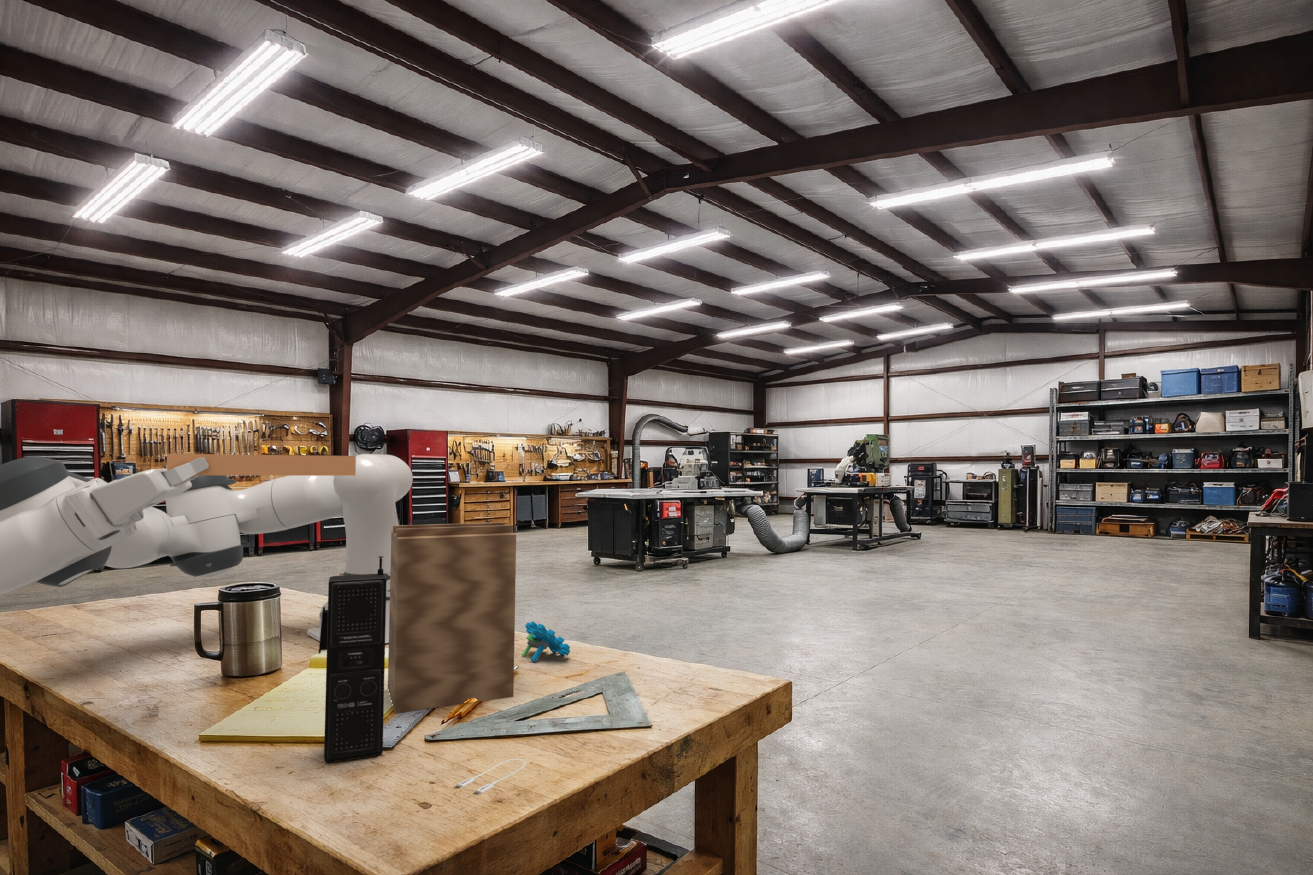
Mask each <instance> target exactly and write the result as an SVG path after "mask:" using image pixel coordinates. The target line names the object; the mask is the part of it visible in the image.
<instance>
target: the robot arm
mask: <svg viewBox="0 0 1313 875" xmlns="http://www.w3.org/2000/svg"><path fill="white" fill-rule="evenodd" d="M355 456H356V473H355V476H299V475H284V476H282V477H281V476H280V477H278V478H274V479H270V480H267V481H265V482H261V483H259V484H255V485H253V486H251V487H247V488H243V489H233V487H232V488H231V487H230V486H231V485H234V484H236V483H237V480H236V479H234V478H232V479H230V478H229V476H228V475H196V474H198V473H200V472H202V471H204V470H206V469H208V468H209V467H210V465H209V463H208V462H207V460H206V459H205V458H202V457H201V458H198V459H196V460H194V461H191V462H189V463H186V464H183V465H181V466H178V467H175V468H173V469H170V470H167V467H166V468H151V469H147V470H143V471H139V472H136V473H133V474H130V475H128V476H125V477H122V478H118V479H114V480H112V481H110V482H107V481H105V480H104V479H102V478H99V477H95V478H93V479H91V478H88V477H86V476H82V475H80V474H77V473H74V472H72V471H68V470H67V468H66V466H65V464H64V463H63V462H62V461H58V460H56V459H54V458H48V457H45V456H44V457H43V456H38V455H37V456H35V455H33V456H25V457H21V458H17V459H14V460H10V461H7V462H5V463H2V464H0V596H1V595H4V594H6V593H9V592H13V591H15V590H17V589H20V588H22V587H25V586H28V585H29V584H32V583H34V582H36V584H40V585H44V586H48V587H49V586H50V587H55V588H63V587H65V586H67V585H69V584H71V583H72V582H74V581H75V580H78V579H79V578H81V577H82V576H84V575H86V574H88V573H91V572H93V571H95V570H97V569H101V568H104V567H105V566H106V567H109V568H113V569H128V568H129V569H130V568H135V567H139V566H143V565H147V564H150V563H152V562H153V561H156V560H159V559H160V558H164V557H167V556H168V557H170V559H171V560H172V561H173V562H172V563H169V566H170V567H171V568H172V567H177V568H178V569H179V570H180V572H182V573H183V574H186V575H188V576H191V577H194V578H196V577H199V578H213V577H219V576H222V575H224V574H226V573H228V572H230V571H231V570H233V569H234V568H235V567H237V566H239V565H240V564H241V562H242V561H243V560H244V559H243V556H244V546H243V544H241V534H244V535H259V534H261V535H262V534H269V533H276V532H282V531H287V530H289V529H290V530H291V529H294V528H298V527H302V526H306V525H311V524H314V523H317V522H322V521H326V520H330V519H334V518H338V517H341V516H343V523H344V528H345V537H346V539H345V541H346V542H345V554H346V555H345V571H344V572H343V573H339V574H338V576H343V575H362V574H378V569H379V559H380V558H379V556H384V557H383V558H382V569H383V574H385V575H386V580H387V583H386V626H385V644H389V612H390V570H391V531H393V526H395V525H400V524H399V518H398V513H397V507H396V502H398V501H400V500H401V499H403V497H404V496H406V495H407V493H408V492H409V491H410V490H411V488H412V485H413V478H414V477H413V472H412V470H411V468H410V466H409V465H408V464H407V463H406V462H405V461H404V460H402V459H401V458H399V457H397V456H395V455H393V454H378V453H377V454H375V453H361V454H357V455H355ZM163 502H165V506H166V508H165V509H166V512H165V511H163V510H161V509H158V508H156V507H154V506H156V505H158V504H160V503H163ZM240 533H241V534H240ZM323 607H325V610H328V601H326V602H325V603H324V604H323V605H322V606H321V609H320V612H319V614H318V615H319V617H318V618H319V625H317V626H314V627H311V628H308V629H307V631H306V635H307V636H309V637H312V638H313V639H314V640H316V641H319V642H320V633H321V622H322V612H323Z"/></svg>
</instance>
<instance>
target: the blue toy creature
mask: <svg viewBox="0 0 1313 875" xmlns="http://www.w3.org/2000/svg"><path fill="white" fill-rule="evenodd" d="M524 627H525V628H526V629H525V631H526V632H527V634H528V635H527V636H526V640H528V641H527V642H526V644H527V646H526V648H525V650H523V652H522V653H521V655H522V657H526V656H527V654H528V653H529V651H530V650H531V648H533V649H537V650H536V651H535V653H534V654H533V655H532V657H531V658H530V660H531V661H532V662H533V663H536V662H537V660H538V659H539V658H540V656H541V654H542V653H543V652H544V650H547V649H549V650H550V651H551V652H552V654H553V653H554V654H559V656H562V657H564V656H569V655H570V653H571V650H570V649H571V646H570V645H569V644H568V643H564V642H565V639H564V638H563V637H561V636H560V635H559V636H558V637H557V636H556V632H555V630H552V629H551V628H548V630H547V628H546V627H545V625H544V624H542V623H538V624H537V623H536V622H535V621H533V620H531V621H530V622H527V623H525V625H524Z"/></svg>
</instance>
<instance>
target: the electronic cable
mask: <svg viewBox="0 0 1313 875" xmlns="http://www.w3.org/2000/svg"><path fill="white" fill-rule="evenodd" d="M515 760H518V761H521V762H522V763H523V764H522V766H521V767H519V768H518V769H517V770H515V771H514V772H511V773H510V774H507V775H506V776H504V777H502V778H501V779H498V780H495V781H494V782H492V783H487V784H485V785H483V786H481V787H479V788H477V789H476V790H475V792H473V793H472V795H475V796H479V795H481V794H484V793H486V792H487V791H489V790H491V789H493V788H494V787H495V785H496V784H498V783H499V782H501V781H503V780H505V779H507V778H509V777H512V776H513V775H514V774H516V773H517V772H519V771H521V770H522V769H523V768H524V767H525V766H526V764H527V763H526V761H525V760H524V759H522V758H511V759H507V760H505V761H504V760H503V761H502V762H500V763H498V764H496V765H495V766H492V767H491V768H489V769H487V770H486V771H484V772H483V773H480V774H477V775H474V776H473V777H468V778H466V779H464V780H462V781H461V782H458V783H457V784H456V785H455V786H454V787H453V788H454V789H457V790H459V789H461V788H464V787H466V786H467V785H470V784H472V783H473V782H475V781H476V779H477V778H479V777H480V776H482V775H484V774H487V773H488V772H489V771H491V770H493V769H495V768H496V767H498V766H500V765H502V764H504V763H506V762H509V761H515Z"/></svg>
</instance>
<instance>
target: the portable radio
mask: <svg viewBox="0 0 1313 875" xmlns="http://www.w3.org/2000/svg"><path fill="white" fill-rule="evenodd" d="M383 557H384V556H379V558H380V559H379V569H378V574H362V575H333V576H330V577H329V578H328V588H327V589H328V590H327V591H328V592H327V593H328V595H327V598H328V599H327V602H328V610H325V607H323V612H322V622H321V633H320V641H319V643H318V644H319V646H318V654H319V655H320V654H321V653H322V651H326V663H325V664H326V667H325V669H326V670H325V672H326V673H325V699H324V700H325V701H324V702H325V707H324V709H325V710H324V714H325V715H324V739H323V740H324V743H323V759H324V762H325V763H327V764H329V763H335V762H341V761H348V760H354V759H360V758H368V757H373V756H380V755H382V754H383V750H384V718H385V717H384V712H385V708H384V707H385V667H386V665H385V664H386V662H385V661H386V660H385V658H386V643H385V626H386V583H387V580H386V575H385V574H383V569H382V558H383Z"/></svg>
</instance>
